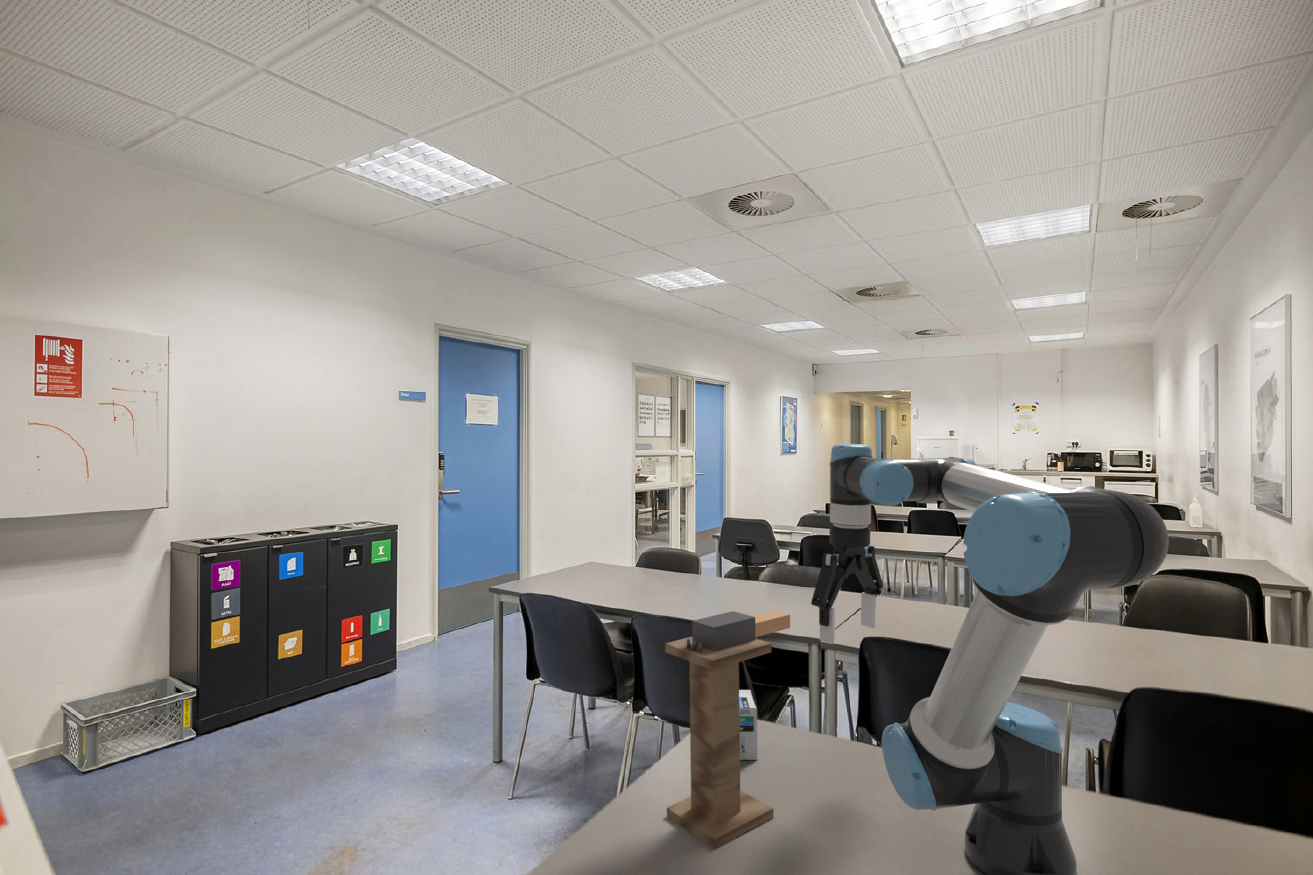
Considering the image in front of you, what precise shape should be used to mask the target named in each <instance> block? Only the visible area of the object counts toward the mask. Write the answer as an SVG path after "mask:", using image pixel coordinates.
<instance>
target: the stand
mask: <svg viewBox="0 0 1313 875" xmlns="http://www.w3.org/2000/svg"><path fill="white" fill-rule="evenodd" d="M755 639H756V640H753V641H750V642H746V643H742V644H739V645H735V646H732V647H728V648H724V649H721V650H717V651H712V650H709V649H706V648H703V647H702V643H698V646H697V645H696V641H692V636H690V637H684V638H682V639H681V638H680V639H676V640H674V641H669V642H665V643H664V652H665V653H666V654H670V655H671V656H674V657H678V658H679V659H682V660H685V661H688V663H689V728H690V729H689V732H690V733H689V734H690V738H689V739H690V745H689V746H690V796H689V797H687V798H685V799H683V800H680V801H678V802H676V803H674V804H672V805H669V806H667V807H666V817H667V818H668V819H670V820H671V821H673V822H675V824H678V825H679V826H681V827H682V828H684V830H686V831H687V832H689V833H691V834H693V836H695V837H696V838H697V839H698V838H699V840H701V841H702V842H704V843H705V844H706V845H708V846H710V847H711V848H713V849H716V848H719V847H720V846H722V845H724V844H726V843H728V842H730V841H732V840H734V839H735V838H738V837H739V836H742V835H743V834H745V833H746V832H748V831H750V830H753V829H754V828H756V827H758V826H760V825H762V824H764V823H766V822H767V821H770V820H771V819H773V818H774V808H773V807H772V806H770V805H767V804H766V803H764V802H762V801H760V800H758V799H757V798H756V797H753V796H751V795H750V794H748V793H746V792H744V791H742V790H741V760H740V727H739V690H740V670H739V669H740V662H744V661H746V660H751V659H754V658H756V657H760V656H764V655H767V654H770V653H772V643H771V642H767V641H764V640H761V639H758V638H755ZM737 836H738V837H737Z"/></svg>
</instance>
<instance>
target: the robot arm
mask: <svg viewBox="0 0 1313 875" xmlns="http://www.w3.org/2000/svg"><path fill="white" fill-rule="evenodd" d="M830 450H831V452H830V461H829V466H830V467H829V468H830V469H829V472H830V473H829V474H830V477H829V479H830V480H829V482H830V483H829V489H830V492H829V494H830V497H829V498H830V499H829V502H830V505H829V506H830V507H829V508H830V509H829V521H830V523H832V524H830V526H829V536H828V537H829V543H830V545H832V547H834V548H833V553H832V554H830V553H827V552H825V553H823V555H822V563H821V567H820V571H819V574H818V578H817V582H816V584H815V588H814V591H813V594H812V598H811V602H810V603H811V606H815V607H818V609H819V610H818V611H819V612H818V613H819V618H818V619H819V620H818V623H819V641H821V642H823V643H826V644H829V645H834V644H835V623H836V622H835V621H836V619H835V611H836V609H835V608H833V606H834V603H835V601H836V599H837V597H838V594H839V592H840V590H841V588H842V586H843V583H844V581H845V580H846V579H848V578H849V576H850V575H852V574H855V576H856V578H857V580H858V582H859V583H860V585H861V588H862V589H863V592H861V595H860V596H861V600H860V601H861V602H860V603H861V604H860V606H861V607H860V625H861V626H863V627H867V628H871V629H875V628H876V608H877V607H876V606H877V605H876V602H877V601H876V600H877V598H876V597H877V595H878V596H880V595H882V589H883V588H884V584H883V580H882V575H881V572H880V569H879V567H878V562H877V559H876V558H877V557H876V548H875V546H874V545H871V528H870V526H868V525H870V524H871V523H872V503H871V502H873V503H876V504H878V505H882V506H883V505H887V506H888V505H889V506H895V505H899V504H901V503H903V502H917V501H918V502H919V501H920V502H921V501H942V502H944V503H946V504H949V505H953V506H956V507H959V508H962V509H965V510H968V511H970V512H973V513H972V515H971V516H970V518H969V520H968V522H967V524H966V526H965V530H964V534H963V545H964V546H966V550H965V551H963V558H964V562H965V565H966V567H967V570H968V572H969V574H970V578H971V581H972V584H973V586H974V588H975V590H976V592H975V594H974V597H973V598H972V601H971V603H970V606H969V608H968V611H967V612H966V615H965V617H964V620H963V622H962V624H961V626H960V629H959V631H958V634H957V635H956V638H955V640H954V642H953V645H952V647H951V649H950V651H949V654H948V656H947V658H946V660H945V662H944V665H943V667H942V669H941V672H940V674H939V677H938V678H937V681H936V683H935V685H934V688H933V691H932V692H931V695H930V696H928V697H925V698H923V699H920V700H919V701H917V702H916V703H915V704H914V706H913V707H912V709H911V711H910V714H909V716H908V718H907V721H905V722H904V723H903V722H902V723H898V722H894V723H893V724H889V725H887V726H886V727H885V728H884V730H883V732H882V737H881V748H882V750H881V751H882V756H883V760H884V765H885V769H886V772H887V774H888V777H889V780H890V783H891V784H892V787H893V789H894V790H895V792H896V793H897V795H898V796H899V798H900V799H901V800H902V801H903V803H905V805H907V806H908V807H909V808H911V809H914V810H917V811H921V810H922V811H923V810H924V811H925V810H931V811H936V810H939V809H946V808H953V807H959V806H961V807H962V806H968V805H974V806H973V809H972V812H971V815H970V817H969V820H968V823H967V826H966V829H965V831H964V852H965V854H966V857H967V858H968V859H969V861H970V862H971V864H972V865H973V866H974V867H975V868H977V870H979V871H980V872H982V874H985V875H1077V874H1078V872H1077V863H1078V862H1077V858H1076V854H1075V853H1074V850H1073V847H1072V844H1071V840H1070V838H1069V836H1068V832H1067V830H1066V827H1065V825H1064V822H1063V821H1064V820H1063V810H1062V808H1063V801H1062V800H1063V797H1062V795H1063V794H1062V792H1063V791H1062V788H1063V787H1062V785H1063V784H1062V783H1063V782H1062V777H1063V776H1062V774H1063V773H1062V770H1063V768H1062V766H1063V765H1062V764H1063V763H1062V762H1063V761H1062V760H1063V758H1062V754H1063V749H1062V745H1061V744H1062V743H1061V732H1060V728H1059V727H1058V725H1057V723H1056V722H1055V721H1054V720H1053V719H1051V718H1050V717H1048V716H1047V715H1045V714H1044V713H1042V712H1039V711H1038V710H1035V709H1032V708H1030V707H1027V706H1025V705H1021V704H1018V703H1012V702H1009V699H1010V697H1011V695H1012V693H1013V691H1014V690H1015V688H1016V687H1017V684H1018V683H1019V681H1020V679H1021V677H1022V675H1023V673H1024V672H1025V669H1026V668H1027V665H1028V663H1029V662H1030V659H1031V658H1032V656H1033V654H1034V652H1035V650H1036V649H1037V647H1038V645H1039V643H1040V641H1041V639H1042V637H1043V636H1044V633H1045V631H1046V629H1047V628H1048V626H1051V625H1052V626H1053V625H1059V624H1061V623H1064V622H1065V621H1066V620H1068V619H1069V618H1070V616H1071V615H1072V613H1073V611H1074V610H1075V608H1076V606H1077V604H1078V602H1079V601H1080V599H1081V598H1082V595H1083V594H1084V593H1085V592H1086V591H1090V590H1104V589H1117V588H1125V587H1130V586H1133V585H1137V584H1139V583H1141V582H1144V581H1146V580H1147V579H1148V578H1150V577H1151V576H1152V575H1154V574H1155V573H1156V572H1157V571H1158V570H1159V568H1160V567H1161V566H1162V565H1163V563H1164V562H1165V560H1166V556H1167V554H1168V549H1169V543H1170V542H1169V541H1170V540H1169V533H1168V529H1167V525H1166V523H1165V522H1164V519H1163V518H1162V517H1161V515H1160V513H1159V512H1158V511H1157V510H1156V509H1155V508H1154V507H1153V506H1152V505H1151V504H1149V503H1148V502H1147V501H1145V500H1144V499H1142V498H1140V497H1139V496H1136V495H1134V494H1130V493H1128V492H1123V491H1118V490H1112V489H1111V490H1110V489H1105V488H1102V487H1098V486H1091V485H1090V486H1089V485H1088V486H1080V487H1077V488H1076V489H1075V488H1074V489H1073V488H1069V487H1065V486H1061V485H1057V484H1052V483H1047V482H1044V481H1040V480H1036V479H1032V478H1029V477H1028V478H1027V477H1024V476H1020V475H1015V474H1012V473H1007V472H1005V471H1004V472H1003V471H999V470H994V469H991V468H988V467H984V466H979V465H978V464H977V463H976V462H975V460H973V459H970V458H965V457H958V456H949V457H939V458H938V457H937V458H936V457H933V458H929V457H928V458H875V457H873V452H872V448H871V446H870V445H869V444H859V443H839V444H834V445H833V446H832V448H831V449H830Z"/></svg>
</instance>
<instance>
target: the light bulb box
mask: <svg viewBox="0 0 1313 875" xmlns="http://www.w3.org/2000/svg"><path fill="white" fill-rule="evenodd" d="M755 703H756V702H755V700H754V698H753V694H752V690H751V689H739V727H740V761H748V760H749V761H757V760H759V759H758V713H757V712H758V708H757V705H756V704H755Z"/></svg>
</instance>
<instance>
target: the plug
mask: <svg viewBox="0 0 1313 875" xmlns="http://www.w3.org/2000/svg"><path fill="white" fill-rule="evenodd" d="M691 623H692V624H691V625H692V626H691V628H692V630H691V631H692V633H691V635H692V636H691V637H692V641H696V645H697V646H698V643H702V647H703V648H706V649H709V650H712V651H717V650H721V649H724V648H728V647H732V646H735V645H739V644H742V643H746V642H750V641H753V640H756V639H757V638H759V637H762V636H765V635H769V634H773V633H777V632H780V631H784V630H788V629H790V628H791V614H790V613H785V612H781V611H778V610H774V611H770V612H765V613H762V614H757V615H754V616H752V615H748V614H745V613H740V612H739V611H738V612H737V611H728V612H723V613H719V614H716V615H715V614H714V615H712V616H706V617H702V618H699V619H694V620H692V621H691Z"/></svg>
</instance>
